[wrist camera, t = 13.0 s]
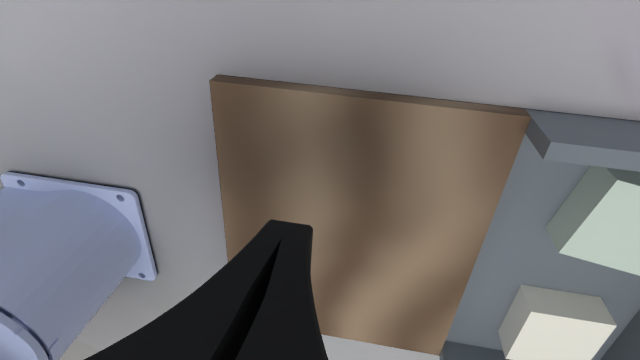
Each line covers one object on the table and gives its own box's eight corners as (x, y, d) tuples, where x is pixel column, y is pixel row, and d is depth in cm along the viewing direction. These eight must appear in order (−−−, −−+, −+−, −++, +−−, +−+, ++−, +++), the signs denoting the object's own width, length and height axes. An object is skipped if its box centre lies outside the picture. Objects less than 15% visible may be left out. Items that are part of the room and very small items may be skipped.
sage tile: (545, 227, 21) (558, 252, 19) (596, 157, 18) (617, 180, 16) (626, 250, 20) (646, 277, 19) (689, 183, 18) (719, 208, 16)
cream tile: (498, 331, 25) (505, 358, 24) (521, 284, 23) (531, 311, 21) (569, 343, 25) (581, 372, 23) (600, 297, 22) (616, 325, 21)
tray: (438, 342, 27) (443, 390, 25) (524, 108, 18) (551, 141, 15) (599, 371, 26) (625, 425, 23) (787, 137, 17) (872, 180, 14)
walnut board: (238, 307, 29) (233, 318, 28) (217, 74, 19) (209, 80, 18) (438, 342, 27) (439, 355, 27) (524, 108, 18) (531, 117, 17)
